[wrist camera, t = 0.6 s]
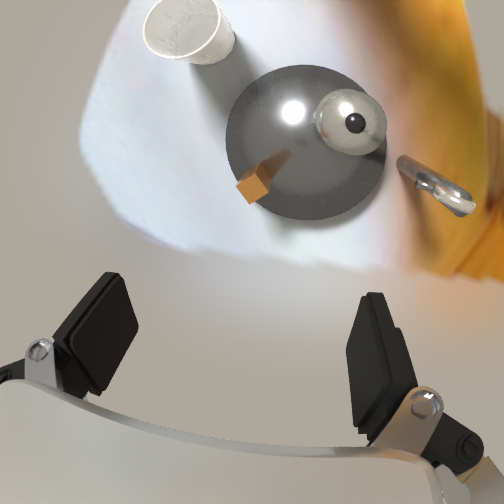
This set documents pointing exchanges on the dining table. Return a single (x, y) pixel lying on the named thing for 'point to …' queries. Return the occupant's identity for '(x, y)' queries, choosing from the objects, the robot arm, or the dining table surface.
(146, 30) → the white cup
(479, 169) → the dining table surface
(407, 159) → the dial post
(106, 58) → the dining table surface
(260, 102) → the turntable
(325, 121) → the cover
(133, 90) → the dining table surface
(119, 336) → the robot arm
